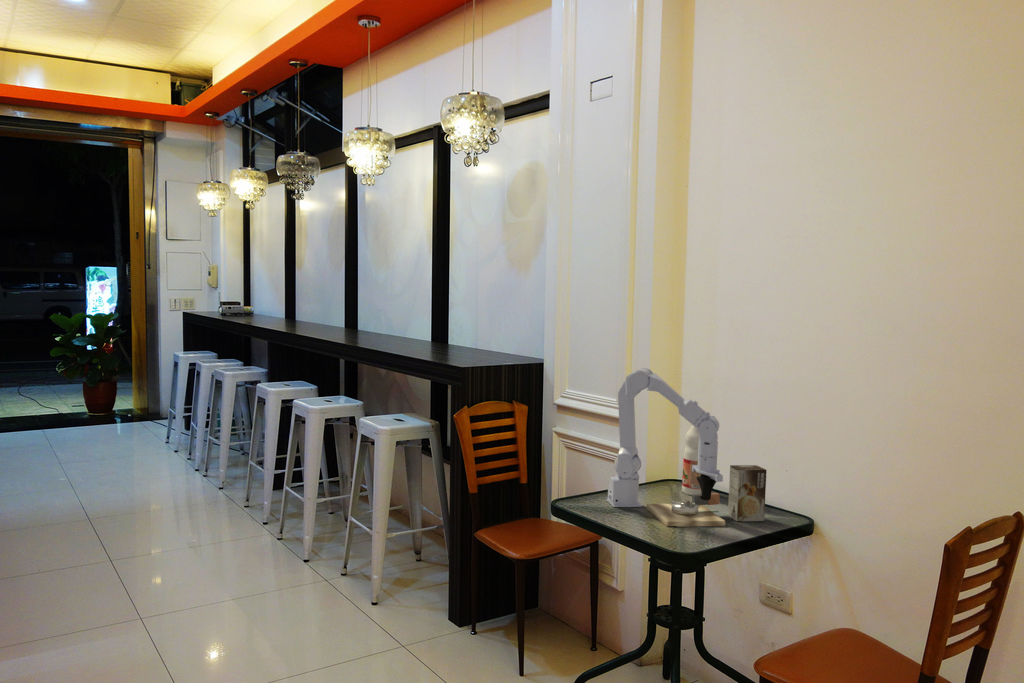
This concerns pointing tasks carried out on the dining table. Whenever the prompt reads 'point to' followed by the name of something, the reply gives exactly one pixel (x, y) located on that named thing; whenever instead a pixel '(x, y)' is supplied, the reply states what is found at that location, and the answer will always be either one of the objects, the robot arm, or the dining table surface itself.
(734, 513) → the biscuit box
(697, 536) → the dining table surface
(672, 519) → the nut base
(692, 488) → the fruit juice
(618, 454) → the robot arm
